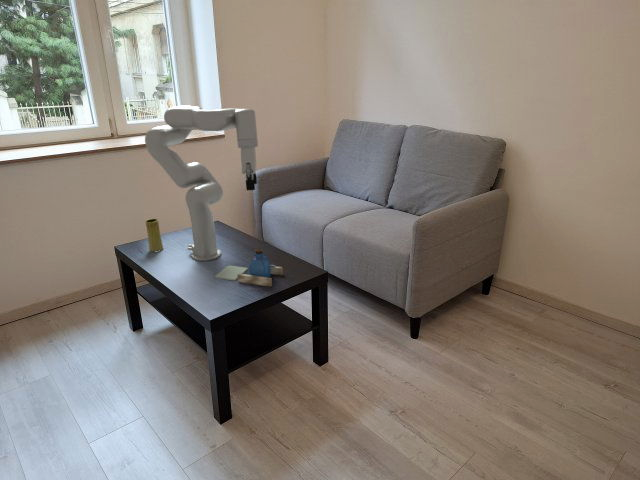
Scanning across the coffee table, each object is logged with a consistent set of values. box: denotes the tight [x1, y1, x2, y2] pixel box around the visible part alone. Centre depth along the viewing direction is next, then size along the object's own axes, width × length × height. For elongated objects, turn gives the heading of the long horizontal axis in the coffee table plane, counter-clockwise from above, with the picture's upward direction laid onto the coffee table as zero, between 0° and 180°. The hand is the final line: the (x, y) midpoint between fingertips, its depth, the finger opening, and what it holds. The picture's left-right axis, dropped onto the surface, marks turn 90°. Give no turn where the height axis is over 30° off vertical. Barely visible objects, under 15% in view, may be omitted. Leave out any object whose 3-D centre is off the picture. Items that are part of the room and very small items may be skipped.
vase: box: [145, 218, 164, 252], centre depth 201 cm, size 6×6×14 cm
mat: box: [214, 265, 249, 282], centre depth 179 cm, size 9×11×1 cm
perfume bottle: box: [249, 248, 272, 278], centre depth 173 cm, size 6×6×12 cm
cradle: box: [237, 262, 284, 287], centre depth 174 cm, size 14×11×4 cm
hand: (251, 187), depth 173 cm, fingers open, 9 cm apart
